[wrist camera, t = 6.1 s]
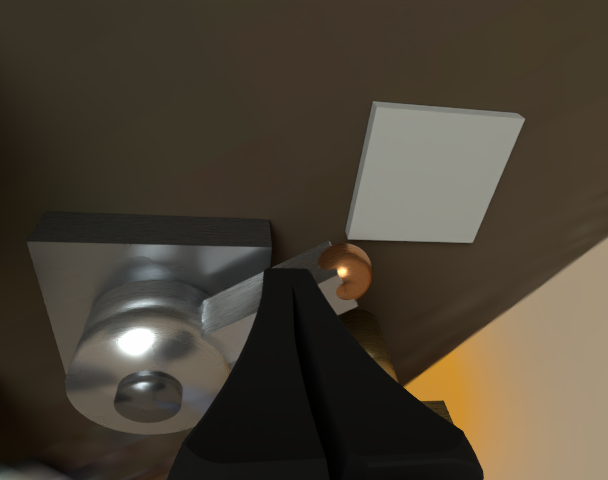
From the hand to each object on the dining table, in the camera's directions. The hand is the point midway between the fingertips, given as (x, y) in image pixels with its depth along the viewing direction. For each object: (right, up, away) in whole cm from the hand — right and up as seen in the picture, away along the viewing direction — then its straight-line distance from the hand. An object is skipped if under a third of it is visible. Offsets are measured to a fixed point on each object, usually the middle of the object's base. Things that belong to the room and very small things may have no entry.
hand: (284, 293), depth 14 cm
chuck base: (-6, -1, +8) cm, 10 cm away
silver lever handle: (-3, -1, +5) cm, 6 cm away
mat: (+6, +4, +5) cm, 9 cm away
